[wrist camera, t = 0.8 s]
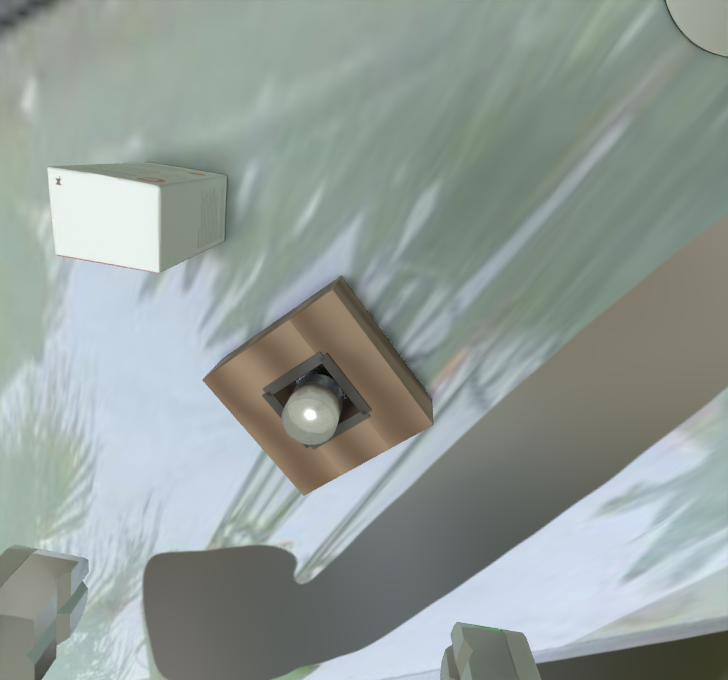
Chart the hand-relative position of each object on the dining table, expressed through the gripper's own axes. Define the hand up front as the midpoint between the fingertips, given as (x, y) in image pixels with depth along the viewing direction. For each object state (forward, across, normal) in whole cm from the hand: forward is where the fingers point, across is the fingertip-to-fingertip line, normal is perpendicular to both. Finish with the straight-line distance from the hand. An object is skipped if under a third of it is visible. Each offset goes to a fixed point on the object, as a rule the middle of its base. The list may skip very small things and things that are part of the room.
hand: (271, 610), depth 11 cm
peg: (+35, 0, +11) cm, 37 cm away
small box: (+39, +16, -4) cm, 43 cm away
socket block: (+39, 0, +11) cm, 40 cm away
